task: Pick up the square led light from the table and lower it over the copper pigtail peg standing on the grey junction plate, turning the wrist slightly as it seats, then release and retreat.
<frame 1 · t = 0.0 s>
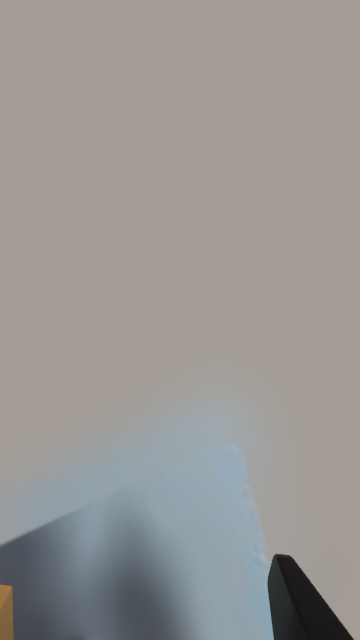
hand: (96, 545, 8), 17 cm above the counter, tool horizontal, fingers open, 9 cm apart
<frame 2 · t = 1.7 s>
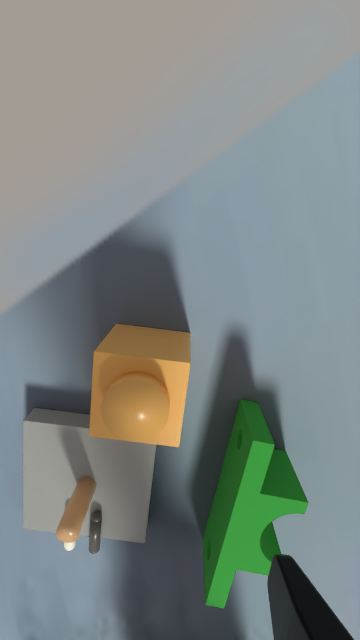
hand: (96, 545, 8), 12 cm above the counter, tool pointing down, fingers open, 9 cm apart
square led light: (149, 362, 20), on the counter
pipe clamp: (244, 475, 23), on the counter
junction plate: (93, 468, 22), on the counter
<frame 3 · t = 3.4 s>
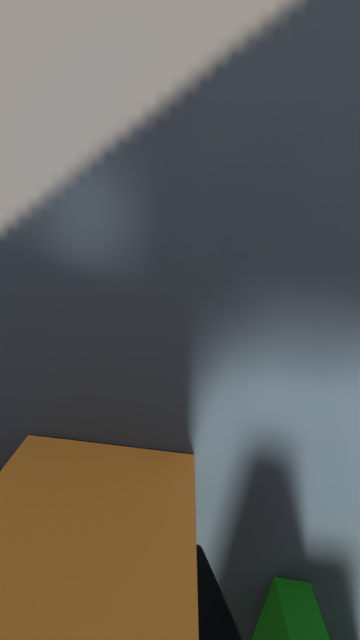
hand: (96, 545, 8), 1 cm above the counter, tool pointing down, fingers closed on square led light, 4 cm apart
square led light: (106, 511, 9), on the counter, touching gripper
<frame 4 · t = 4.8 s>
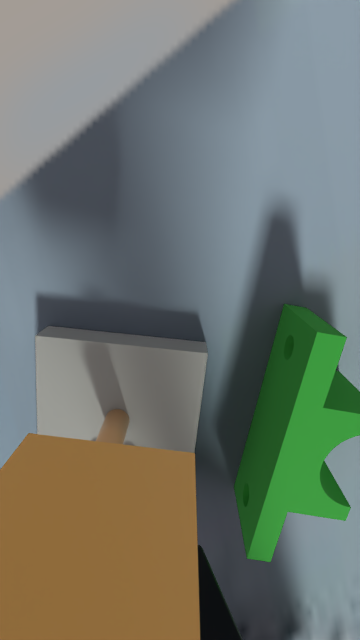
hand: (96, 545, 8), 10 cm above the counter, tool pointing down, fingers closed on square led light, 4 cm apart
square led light: (106, 510, 9), point 9 cm above the counter, touching gripper
pipe clamp: (286, 406, 18), on the counter
junction plate: (123, 403, 18), on the counter
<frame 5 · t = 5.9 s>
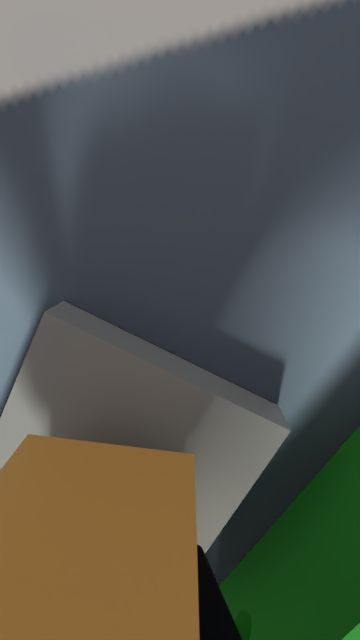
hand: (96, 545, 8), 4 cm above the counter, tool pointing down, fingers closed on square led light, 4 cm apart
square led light: (106, 511, 9), point 3 cm above the counter, touching gripper
pipe clamp: (326, 514, 13), on the counter
junction plate: (124, 446, 12), on the counter
when the fingers open (3 cm above the counter, at t = 6.4 s): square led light stays where it is, resting on junction plate.
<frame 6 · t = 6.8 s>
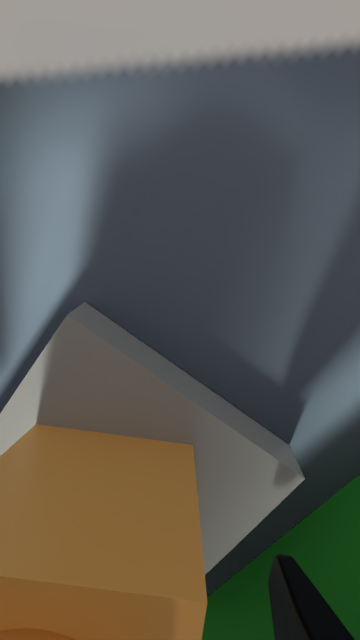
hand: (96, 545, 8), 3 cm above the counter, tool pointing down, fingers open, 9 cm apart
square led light: (105, 509, 9), point 2 cm above the counter, tilted 11°, touching junction plate
pipe clamp: (308, 555, 13), on the counter
junction plate: (121, 463, 11), on the counter
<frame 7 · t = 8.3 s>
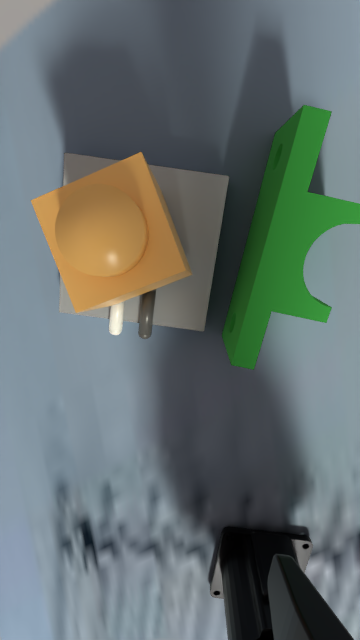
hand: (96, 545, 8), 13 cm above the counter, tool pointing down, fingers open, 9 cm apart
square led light: (136, 249, 17), point 2 cm above the counter, tilted 11°, touching junction plate
pipe clamp: (274, 250, 19), on the counter
junction plate: (142, 246, 19), on the counter
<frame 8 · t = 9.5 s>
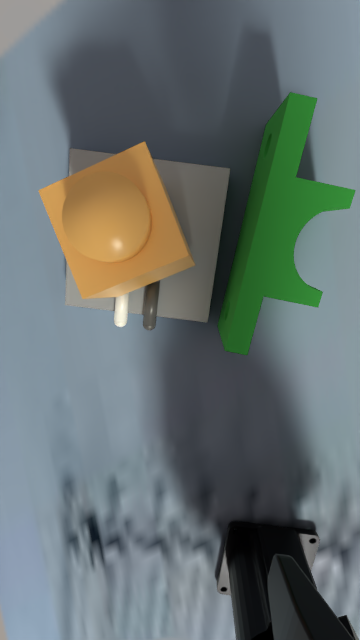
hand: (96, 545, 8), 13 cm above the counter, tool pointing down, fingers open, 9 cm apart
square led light: (140, 241, 17), point 2 cm above the counter, tilted 11°, touching junction plate
pipe clamp: (267, 240, 19), on the counter
junction plate: (146, 239, 19), on the counter
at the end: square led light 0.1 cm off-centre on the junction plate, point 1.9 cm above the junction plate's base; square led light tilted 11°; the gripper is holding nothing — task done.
